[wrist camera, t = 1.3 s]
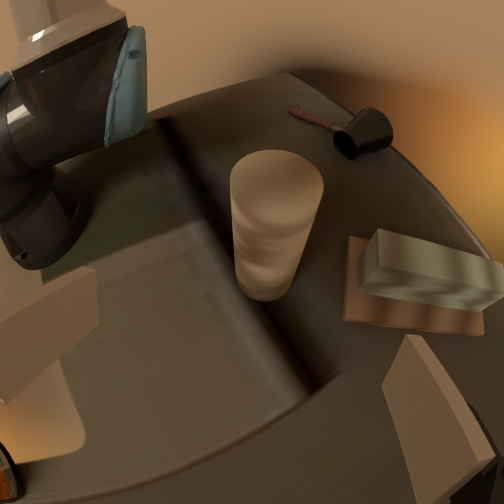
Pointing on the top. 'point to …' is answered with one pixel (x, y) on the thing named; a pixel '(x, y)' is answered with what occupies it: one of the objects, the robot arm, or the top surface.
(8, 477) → the supplement container
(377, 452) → the top surface
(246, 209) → the rod
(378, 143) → the coffee pot
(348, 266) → the stand
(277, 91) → the top surface
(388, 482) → the top surface
